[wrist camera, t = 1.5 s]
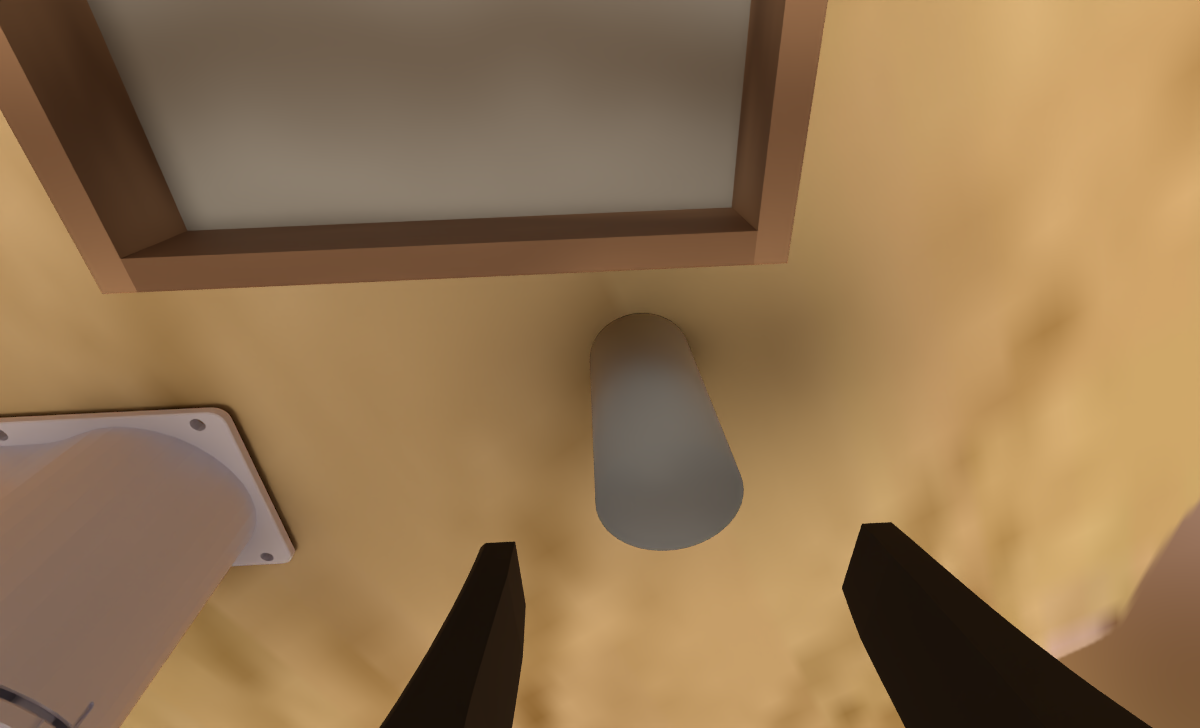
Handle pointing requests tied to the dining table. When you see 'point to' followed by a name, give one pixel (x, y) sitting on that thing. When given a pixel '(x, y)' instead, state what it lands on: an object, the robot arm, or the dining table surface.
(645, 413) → the peg
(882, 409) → the dining table surface
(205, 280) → the box
